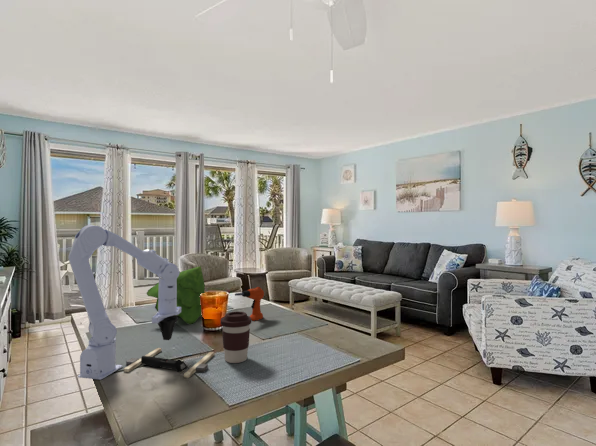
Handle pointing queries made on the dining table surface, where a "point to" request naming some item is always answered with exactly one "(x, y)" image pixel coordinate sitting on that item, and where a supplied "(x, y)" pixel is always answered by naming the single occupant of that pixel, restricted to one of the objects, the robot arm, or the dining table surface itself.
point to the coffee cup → (236, 336)
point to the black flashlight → (164, 363)
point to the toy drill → (256, 296)
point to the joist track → (136, 362)
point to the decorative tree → (186, 294)
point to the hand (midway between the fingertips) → (167, 339)
